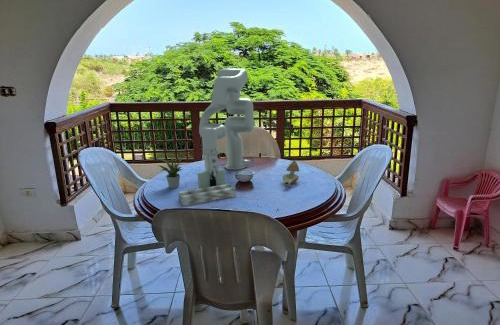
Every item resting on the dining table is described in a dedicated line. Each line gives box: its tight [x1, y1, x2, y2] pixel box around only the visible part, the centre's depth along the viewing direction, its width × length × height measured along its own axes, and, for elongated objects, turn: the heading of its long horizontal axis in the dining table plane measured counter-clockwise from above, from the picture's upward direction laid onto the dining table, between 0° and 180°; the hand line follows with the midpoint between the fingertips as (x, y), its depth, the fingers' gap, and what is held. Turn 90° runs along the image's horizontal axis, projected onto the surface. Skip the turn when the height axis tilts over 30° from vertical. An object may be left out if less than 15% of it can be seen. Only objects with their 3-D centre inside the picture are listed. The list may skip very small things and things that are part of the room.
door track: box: [178, 183, 237, 206], centre depth 163 cm, size 26×10×4 cm, turn 114°
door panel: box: [197, 168, 226, 189], centre depth 175 cm, size 14×2×9 cm, turn 114°
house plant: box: [157, 156, 186, 189], centre depth 178 cm, size 14×14×16 cm
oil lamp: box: [282, 159, 300, 187], centre depth 180 cm, size 9×21×10 cm, turn 162°
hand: (212, 184), depth 176 cm, fingers open, 3 cm apart
